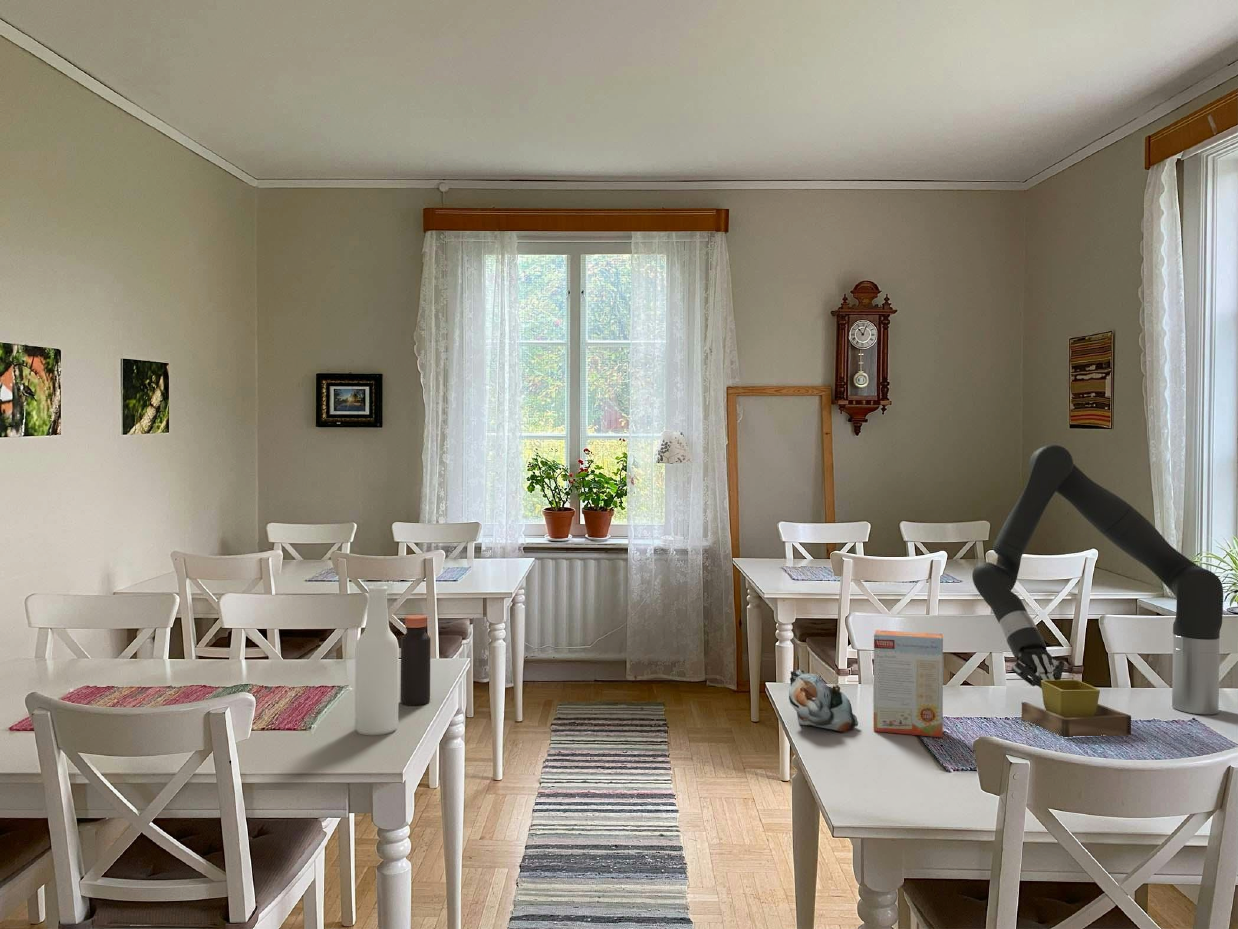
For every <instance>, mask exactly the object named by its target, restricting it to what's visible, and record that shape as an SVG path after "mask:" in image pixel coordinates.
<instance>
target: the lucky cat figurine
mask: <svg viewBox="0 0 1238 929" xmlns="http://www.w3.org/2000/svg"><path fill="white" fill-rule="evenodd" d="M789 681H790V682H789V683H790V688H789V690H788V700H789V704H790V705H791V707H792V708H793V709H794V710H795V711H796V716H797V721H798V725H799V726H813V727H818V728H823V729H828V730H833V731H836V732H841V733H842V734H843V733H847V732H851V731H852V730H853V729H854V728H855V727H858V726H859V722H858V718H857V716H856V715H855V714H854V713H853V708H852V704H851V701H850V699H849V698H848V697H847V696H846V694H845V693H843V692H842V691H841V687H840V686H839V685H838V684H837V683H835V684H833V686H828V685H827V683H826V681H824V679H823V678H822V677H821V675H819V674H817V673H805V671H804V669H798V670H796V672H795V671H793V670H791V671H790V678H789Z"/></svg>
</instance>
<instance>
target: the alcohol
mask: <svg viewBox="0 0 1238 929" xmlns="http://www.w3.org/2000/svg"><path fill="white" fill-rule="evenodd" d="M367 590H368V592H367V596H368V598H367V608H366V609H367V610H366V623H365V627H364V631H363V632H362V634H361V635H360V636H359V638H358V639H357V641H356V644H355V656H354V657H355V658H354V659H355V664H354V665H355V669H354V670H355V673H354V675H355V676H354V678H355V679H354V729H355V731H356V732H357V733H358V734H360V735H364V736H381V735H387V734H390V733H394V732H395V731H396V729H397V728H398V726H399V676H400V674H399V670H400V669H399V667H400V666H399V664H400V661H399V660H400V659H399V658H400V657H399V656H400V652H399V651H400V646H399V641H398V639H397V637H396V636H395V634H394V633H393V632H392V630H391V628H390V625H389V624H390V622H389V610H388V587H387V586H386V585H371V586H369V587H367Z"/></svg>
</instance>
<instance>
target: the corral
mask: <svg viewBox="0 0 1238 929" xmlns="http://www.w3.org/2000/svg"><path fill="white" fill-rule="evenodd" d="M1022 720H1025V721H1028V722H1030V723H1032V724H1035V725H1036V726H1039V727H1042V728H1043V729H1046V730H1048V731H1050V732H1052V733H1055V734H1058V735H1059V736H1063V737H1073V736H1101V735H1102V736H1103V735H1106V736H1105V737H1115V736H1116V737H1117V735H1118V736H1130V735H1132V715H1130V714H1127V713H1125V712H1121V711H1119V710H1117V709H1115V708H1114V709H1113V708H1111V707H1108V706H1105V705H1102V704H1099V703H1098V705H1097V710H1096V713H1095V716H1094V717H1077V718H1064V717H1062V716H1059V715H1057V714H1054V713H1052V712H1049V711H1047V710H1046V709H1045V708H1041V707H1039V706H1037V705H1034V704H1032V703H1029V702H1027V701H1022V702H1021V721H1022ZM1025 721H1024V722H1025ZM1036 726H1035V727H1036ZM1043 729H1042V730H1043ZM1048 731H1047V732H1048ZM1050 732H1049V733H1050ZM1052 733H1051V734H1052ZM1055 734H1054V735H1055ZM1114 735H1115V736H1114ZM1059 736H1058V737H1059ZM1103 737H1104V736H1103Z"/></svg>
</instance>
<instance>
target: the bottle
mask: <svg viewBox="0 0 1238 929" xmlns="http://www.w3.org/2000/svg"><path fill="white" fill-rule="evenodd" d="M427 619H428V618H427V616H426V615H422V614H411V615H407V616H405V618H404V622H405V623H404V626H405V627H404V628H405V629H406V632H405V633H404V635H403V636H401V639H400V691H399V692H400V698H399V699H400V703H401V704H402V705H404V704H405V705H404V706H409V705H415V706H423V705H427V704H428V703H430V701H431V643H432V642H431V641H432V640H431V636H430V635H429V634H428V633H427V632H426V629H427V621H428V620H427ZM426 703H427V704H426ZM422 704H423V705H422Z"/></svg>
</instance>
